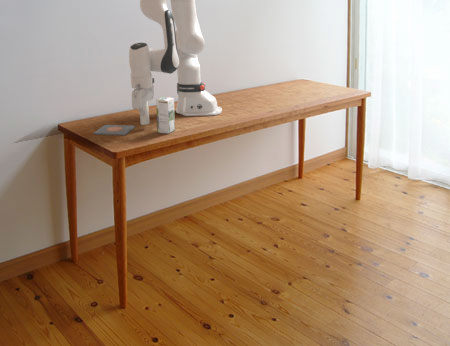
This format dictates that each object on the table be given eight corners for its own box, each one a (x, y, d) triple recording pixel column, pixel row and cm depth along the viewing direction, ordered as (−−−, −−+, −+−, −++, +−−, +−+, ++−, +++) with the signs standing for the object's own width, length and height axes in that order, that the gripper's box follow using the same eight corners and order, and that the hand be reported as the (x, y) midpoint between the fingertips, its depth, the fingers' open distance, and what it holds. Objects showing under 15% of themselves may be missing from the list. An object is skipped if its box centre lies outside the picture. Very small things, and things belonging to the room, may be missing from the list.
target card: (135, 127, 243) (134, 125, 243) (125, 135, 231) (124, 133, 231) (105, 126, 245) (105, 124, 245) (93, 134, 233) (93, 132, 233)
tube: (150, 122, 241) (149, 99, 237) (148, 124, 237) (146, 102, 233) (142, 122, 241) (140, 99, 238) (139, 124, 238) (137, 102, 234)
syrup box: (163, 129, 239) (161, 96, 234) (175, 130, 237) (174, 97, 232) (157, 132, 234) (155, 99, 229) (169, 134, 232) (167, 100, 227)
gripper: (141, 87, 223) (144, 120, 228) (155, 78, 241) (157, 108, 246) (126, 87, 224) (129, 120, 229) (141, 77, 243) (144, 108, 247)
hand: (144, 114), depth 238 cm, fingers closed on tube, 4 cm apart
